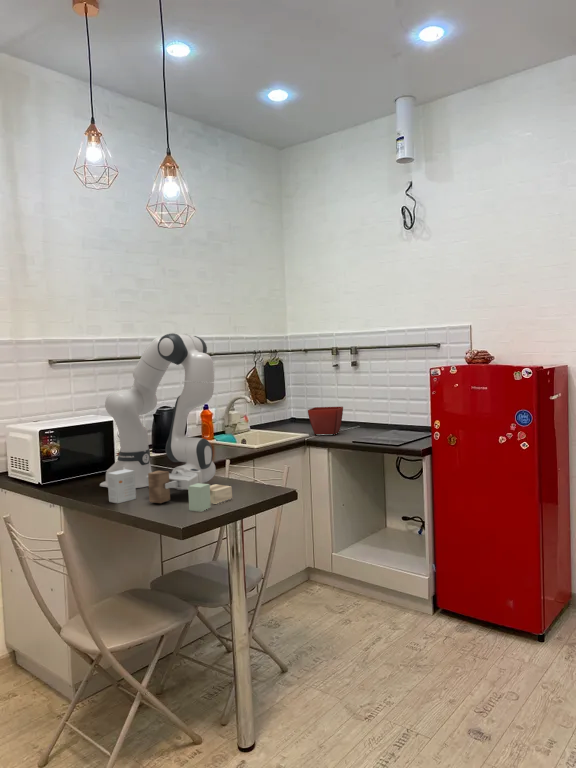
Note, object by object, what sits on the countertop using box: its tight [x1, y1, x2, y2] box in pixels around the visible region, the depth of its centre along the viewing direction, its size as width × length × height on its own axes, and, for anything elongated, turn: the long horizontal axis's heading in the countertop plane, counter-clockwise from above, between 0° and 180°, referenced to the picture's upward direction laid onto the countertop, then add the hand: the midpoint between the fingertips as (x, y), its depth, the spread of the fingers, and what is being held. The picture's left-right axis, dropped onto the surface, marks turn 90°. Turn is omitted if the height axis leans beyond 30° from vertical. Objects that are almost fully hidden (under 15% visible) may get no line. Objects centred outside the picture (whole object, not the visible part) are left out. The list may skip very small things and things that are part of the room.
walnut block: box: [148, 470, 171, 504], centre depth 203 cm, size 5×5×10 cm
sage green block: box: [187, 483, 212, 513], centre depth 192 cm, size 5×5×8 cm
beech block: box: [210, 483, 233, 504], centre depth 203 cm, size 8×8×5 cm
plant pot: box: [307, 406, 344, 435], centre depth 368 cm, size 19×19×17 cm
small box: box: [107, 469, 137, 504], centre depth 210 cm, size 8×6×10 cm
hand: (157, 485), depth 202 cm, fingers closed on walnut block, 5 cm apart
